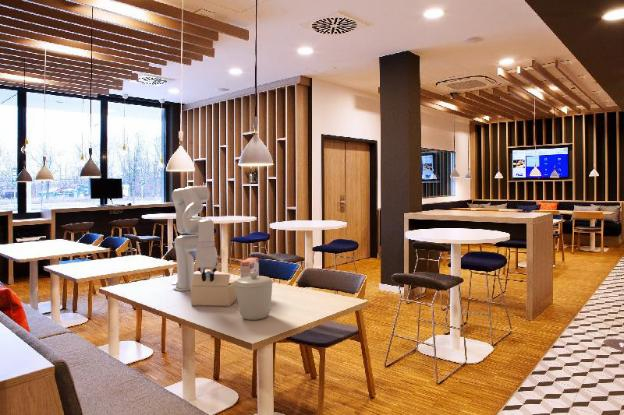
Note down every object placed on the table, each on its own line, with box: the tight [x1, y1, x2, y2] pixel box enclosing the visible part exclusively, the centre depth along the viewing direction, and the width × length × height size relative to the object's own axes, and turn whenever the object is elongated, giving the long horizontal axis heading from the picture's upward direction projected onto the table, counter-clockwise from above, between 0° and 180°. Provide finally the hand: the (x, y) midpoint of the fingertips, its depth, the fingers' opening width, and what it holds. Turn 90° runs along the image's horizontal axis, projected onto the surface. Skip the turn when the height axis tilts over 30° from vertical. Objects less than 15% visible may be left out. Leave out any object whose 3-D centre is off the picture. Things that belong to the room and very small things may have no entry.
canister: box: [234, 272, 275, 321], centre depth 207 cm, size 18×18×21 cm
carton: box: [190, 279, 238, 308], centre depth 233 cm, size 20×13×11 cm, turn 80°
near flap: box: [191, 270, 231, 286], centre depth 226 cm, size 19×6×6 cm
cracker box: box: [239, 257, 260, 278], centre depth 241 cm, size 14×6×21 cm, turn 168°
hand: (208, 280), depth 225 cm, fingers closed on near flap, 3 cm apart
